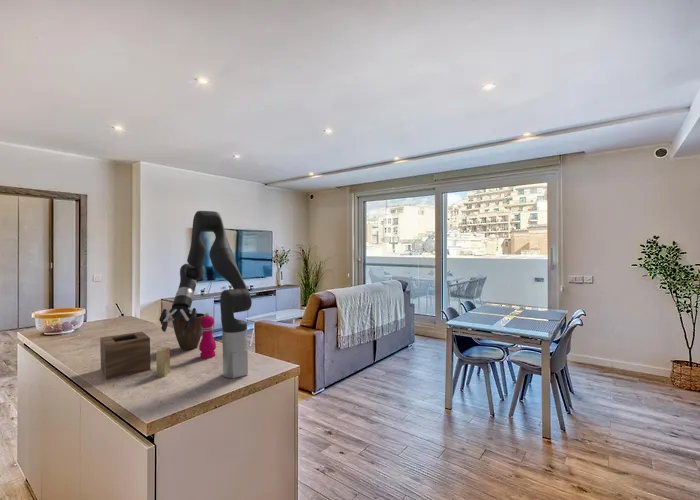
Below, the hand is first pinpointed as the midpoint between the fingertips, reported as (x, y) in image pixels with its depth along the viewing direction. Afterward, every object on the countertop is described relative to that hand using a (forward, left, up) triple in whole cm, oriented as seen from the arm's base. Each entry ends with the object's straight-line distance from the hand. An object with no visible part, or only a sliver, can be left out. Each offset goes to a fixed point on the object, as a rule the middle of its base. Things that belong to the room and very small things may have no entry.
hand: (174, 330), depth 148 cm
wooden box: (+8, +17, -15) cm, 23 cm away
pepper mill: (+2, -14, -15) cm, 21 cm away
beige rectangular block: (-9, +7, -15) cm, 19 cm away
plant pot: (+22, -12, -15) cm, 29 cm away
